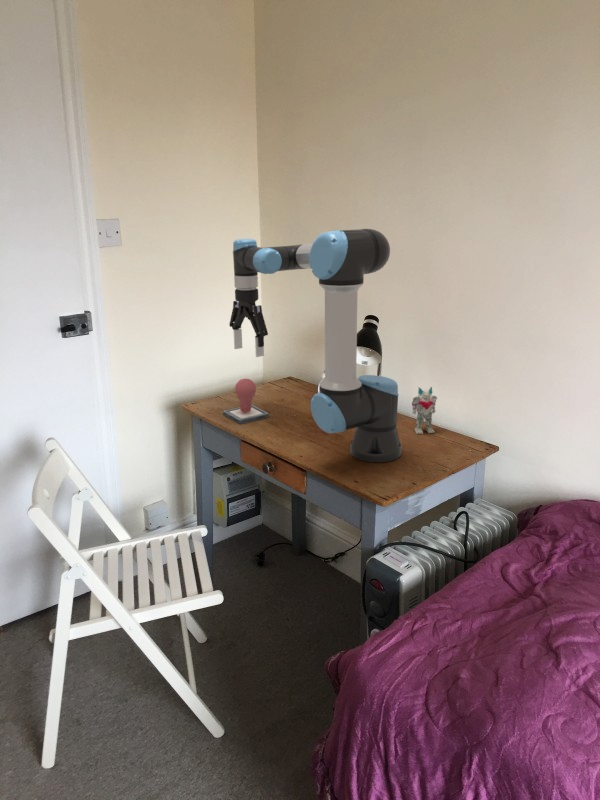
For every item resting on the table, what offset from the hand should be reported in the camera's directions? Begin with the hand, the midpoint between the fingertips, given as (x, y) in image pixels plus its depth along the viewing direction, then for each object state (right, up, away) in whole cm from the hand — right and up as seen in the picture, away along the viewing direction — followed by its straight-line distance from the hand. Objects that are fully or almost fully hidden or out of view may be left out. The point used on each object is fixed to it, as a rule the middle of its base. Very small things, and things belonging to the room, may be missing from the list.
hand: (248, 352), depth 217 cm
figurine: (+57, -26, -7) cm, 63 cm away
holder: (-2, -21, +7) cm, 23 cm away
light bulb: (-2, -20, +7) cm, 22 cm away
